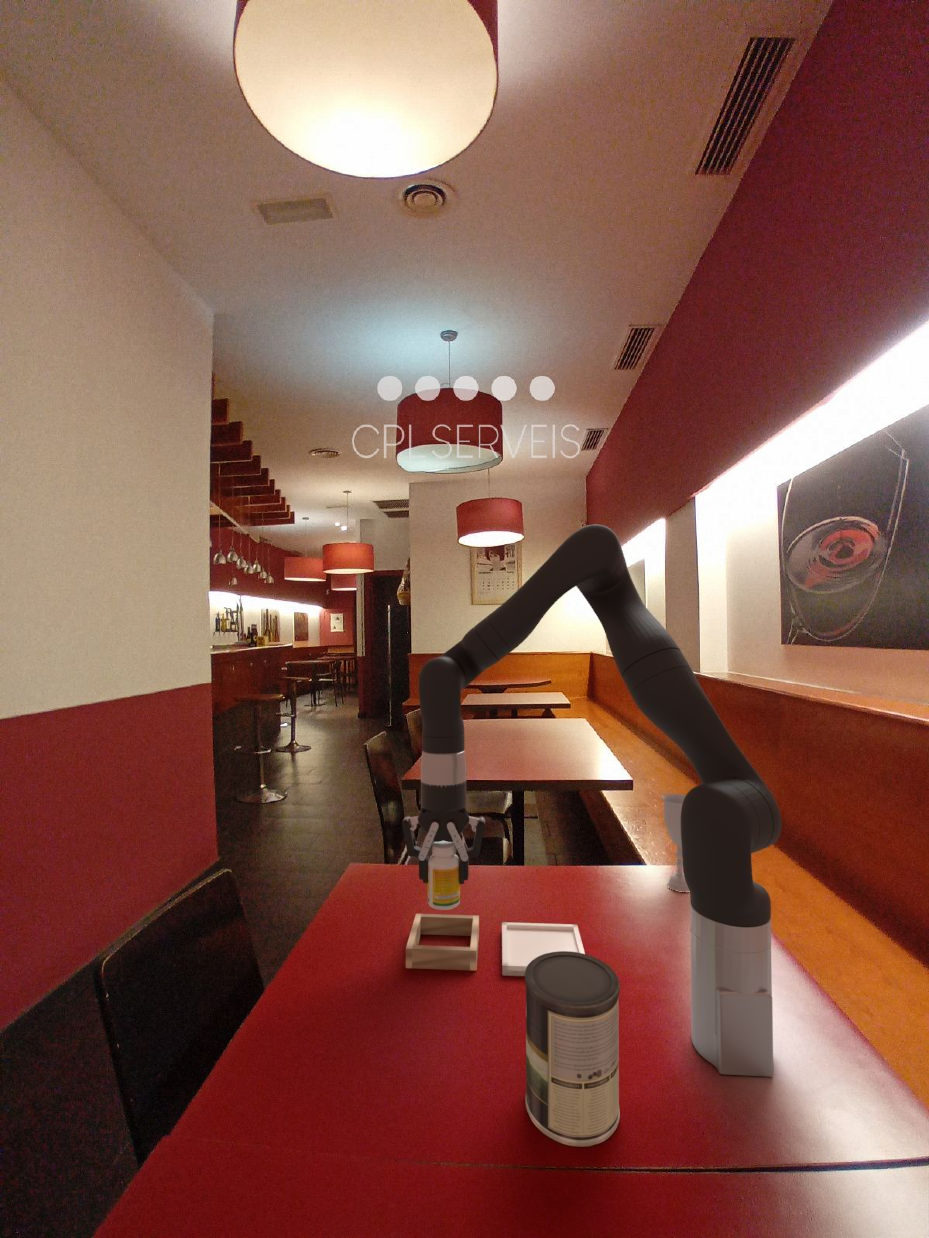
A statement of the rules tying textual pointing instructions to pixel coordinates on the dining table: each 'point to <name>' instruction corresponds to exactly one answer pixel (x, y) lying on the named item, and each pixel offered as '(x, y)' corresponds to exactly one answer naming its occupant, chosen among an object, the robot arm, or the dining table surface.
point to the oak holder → (443, 954)
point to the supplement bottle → (443, 876)
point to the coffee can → (572, 1047)
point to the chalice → (675, 836)
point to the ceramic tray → (535, 943)
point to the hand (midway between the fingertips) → (444, 881)
